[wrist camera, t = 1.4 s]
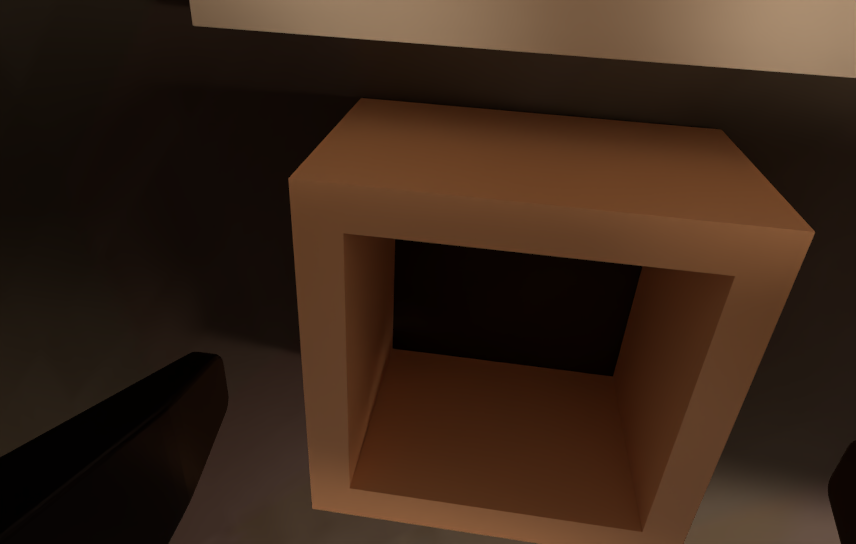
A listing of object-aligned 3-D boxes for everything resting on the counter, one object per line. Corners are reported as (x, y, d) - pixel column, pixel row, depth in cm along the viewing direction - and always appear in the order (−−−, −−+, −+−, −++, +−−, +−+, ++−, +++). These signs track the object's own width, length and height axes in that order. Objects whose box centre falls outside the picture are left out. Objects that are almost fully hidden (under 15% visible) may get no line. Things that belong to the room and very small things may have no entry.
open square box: (721, 129, 11) (815, 232, 7) (637, 403, 14) (675, 564, 10) (361, 97, 11) (288, 177, 8) (363, 368, 14) (312, 508, 11)
